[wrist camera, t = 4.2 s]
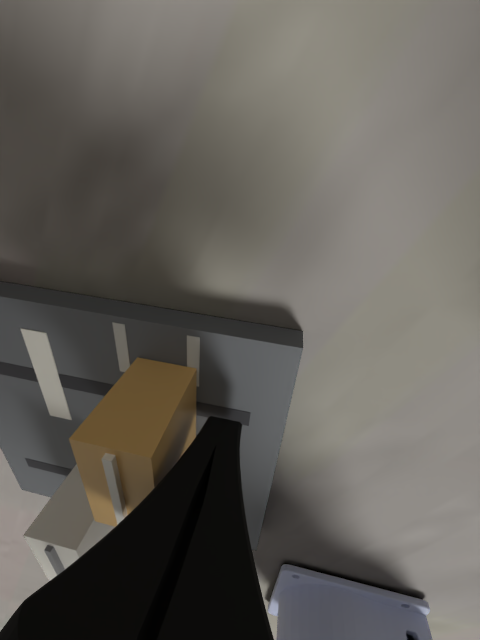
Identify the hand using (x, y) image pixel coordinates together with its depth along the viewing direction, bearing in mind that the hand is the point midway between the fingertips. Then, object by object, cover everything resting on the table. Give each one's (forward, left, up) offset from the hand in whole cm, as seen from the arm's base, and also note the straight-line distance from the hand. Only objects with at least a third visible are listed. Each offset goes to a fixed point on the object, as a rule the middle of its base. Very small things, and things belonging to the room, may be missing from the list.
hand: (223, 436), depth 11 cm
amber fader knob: (+3, 0, -1) cm, 3 cm away
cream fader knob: (+7, +8, -1) cm, 10 cm away
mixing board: (+6, +4, -2) cm, 7 cm away
